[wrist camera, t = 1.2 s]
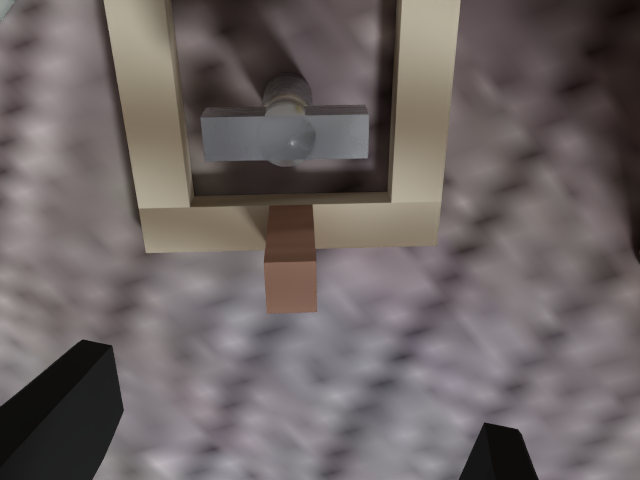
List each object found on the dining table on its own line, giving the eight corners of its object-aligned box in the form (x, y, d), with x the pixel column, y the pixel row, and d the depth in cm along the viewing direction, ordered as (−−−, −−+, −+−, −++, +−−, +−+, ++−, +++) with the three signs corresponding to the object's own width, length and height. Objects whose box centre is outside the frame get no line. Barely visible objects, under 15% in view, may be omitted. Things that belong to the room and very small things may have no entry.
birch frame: (100, -81, 17) (30, -88, 12) (459, -84, 17) (517, -92, 13) (152, 240, 22) (115, 317, 17) (431, 233, 22) (465, 307, 18)
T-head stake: (354, 71, 19) (369, 106, 15) (353, 119, 20) (367, 164, 16) (219, 74, 19) (199, 109, 15) (224, 122, 20) (205, 168, 16)
